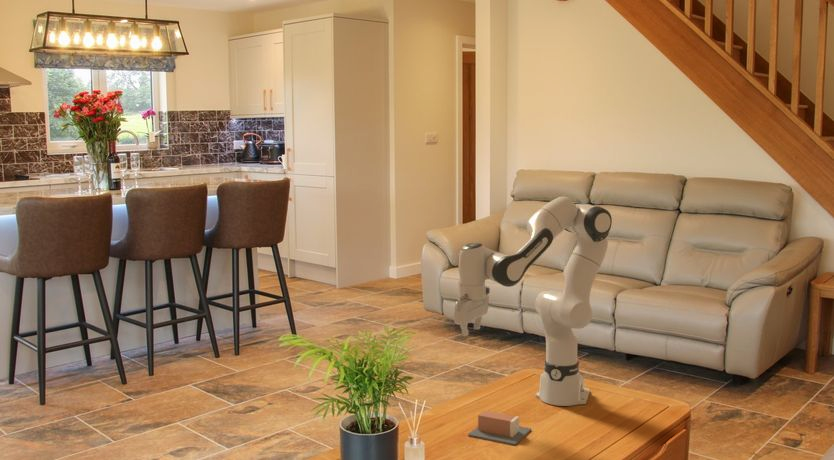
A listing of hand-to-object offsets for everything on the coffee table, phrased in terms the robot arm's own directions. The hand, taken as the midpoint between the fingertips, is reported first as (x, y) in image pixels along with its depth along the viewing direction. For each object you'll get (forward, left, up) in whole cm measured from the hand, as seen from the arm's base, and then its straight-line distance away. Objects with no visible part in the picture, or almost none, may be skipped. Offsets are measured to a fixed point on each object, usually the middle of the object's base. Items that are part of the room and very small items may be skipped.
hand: (471, 332), depth 267 cm
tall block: (+10, +8, -26) cm, 29 cm away
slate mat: (+10, +15, -29) cm, 34 cm away
